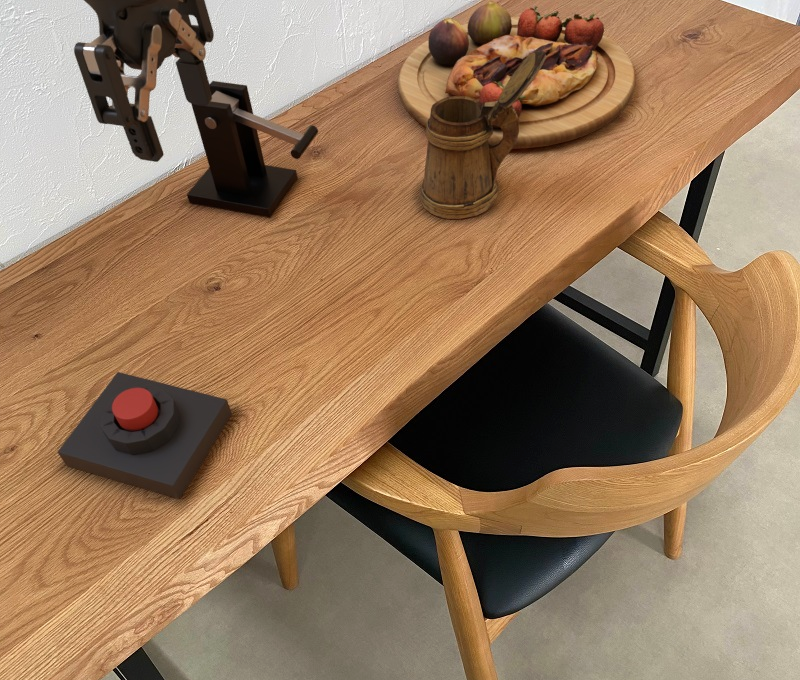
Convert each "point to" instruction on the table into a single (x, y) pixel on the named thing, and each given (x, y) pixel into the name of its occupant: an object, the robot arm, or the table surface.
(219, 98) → the lever
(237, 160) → the bracket
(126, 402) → the button
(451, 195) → the wooden mug
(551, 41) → the wooden plate
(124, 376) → the button box
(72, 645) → the table surface
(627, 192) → the table surface
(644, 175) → the table surface
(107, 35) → the robot arm
